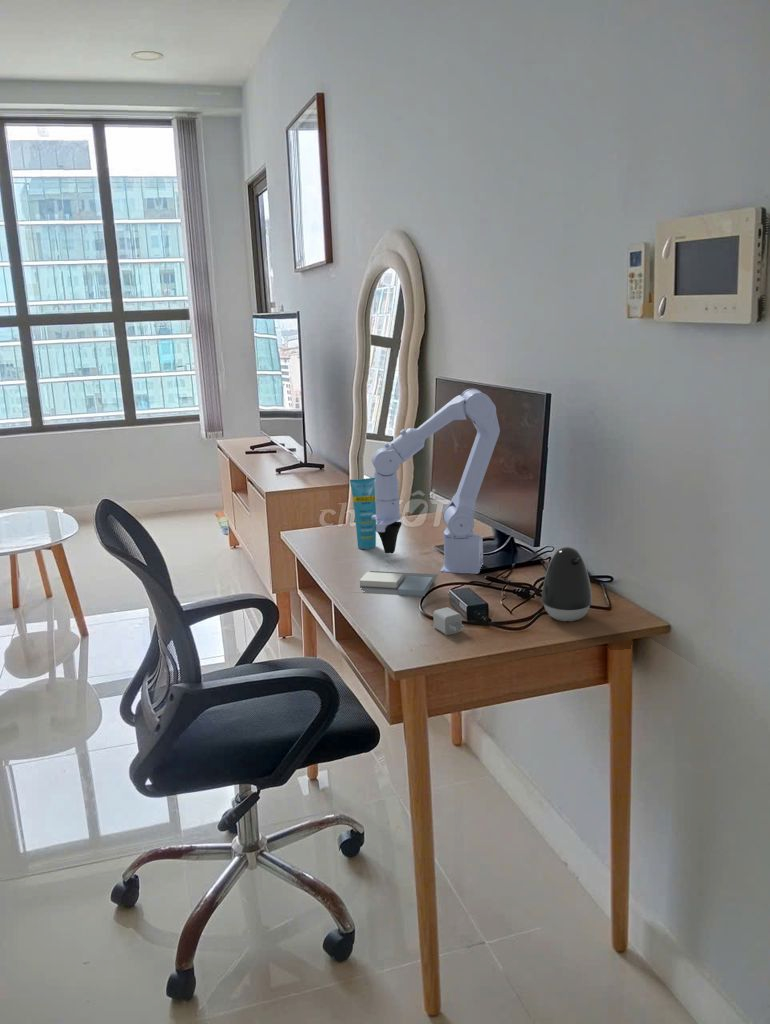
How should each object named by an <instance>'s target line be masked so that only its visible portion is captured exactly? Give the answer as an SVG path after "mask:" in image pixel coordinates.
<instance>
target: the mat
mask: <svg viewBox="0 0 770 1024" xmlns="http://www.w3.org/2000/svg"><path fill="white" fill-rule="evenodd" d="M369 572H377V573H397V574H403V580H402V582H401V583H400V584H399V586H398V587H397V588H388V587H370V586H360V588H362V589H361V590H363V591H365V592H363V594H374V595H375V594H376V595H392V596H393V595H395V596H399V595H398V588H399V587H400V586H401V584H402V583H403V582H404V580H405V579H406V578H407V576H420V577H433V583H434V582H435V580H436V579H437V578H438V576H439V573H437V574H436V573H435V574H434V573H419V572H418V573H416V572H395V571H383V570H382V571H378V570H370V571H369ZM429 589H430V588H429ZM429 589H428V591H429ZM428 591H427V592H426V594H427V593H428ZM406 596H409V597H412V596H411V595H406Z"/></svg>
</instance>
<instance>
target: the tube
mask: <svg viewBox="0 0 770 1024" xmlns="http://www.w3.org/2000/svg"><path fill="white" fill-rule="evenodd" d="M374 480H375V477H369V478H357V479H349V484H350V487H351V493H352V501H353V502H352V503H353V508H354V509H353V512H354V518H355V519H354V521H355V530H356V538H357V540H356V541H357V547H358V549H360V550H371V549H374V548H376V546H377V532H376V529H375V526H376V524H377V523H376V520H375V519H372V516H373V515H376V502H375V484H374Z"/></svg>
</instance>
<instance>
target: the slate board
mask: <svg viewBox="0 0 770 1024" xmlns="http://www.w3.org/2000/svg"><path fill="white" fill-rule="evenodd" d="M433 583H434V582H433V577H420V576H407V578H406V579H405V580H404V582H403V583H402V584H401V586H400V587H399V588H398V595H397V596H407V595H411V596H410V597H425V596H426V594H427V593H428V591H429V590H428V589H430V587H431V586H432V585H433ZM426 592H427V593H426Z"/></svg>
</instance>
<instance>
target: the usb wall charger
mask: <svg viewBox="0 0 770 1024" xmlns="http://www.w3.org/2000/svg"><path fill="white" fill-rule="evenodd" d="M432 615H433V616H432V618H433V627H434V629H436V630H437V631H440V632H441V633H442V634H444V635H446V636H448V635H452V634H456V633H460V632H461V631H462V629H463V630H465V629H466V627H465V625H464V624H463V621H462V614H461V613H459V612H457V611H456V610H454V609H452V608H450V607H448V606H446V607H442V608H439V609H435V610H434V611H433V613H432Z"/></svg>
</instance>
